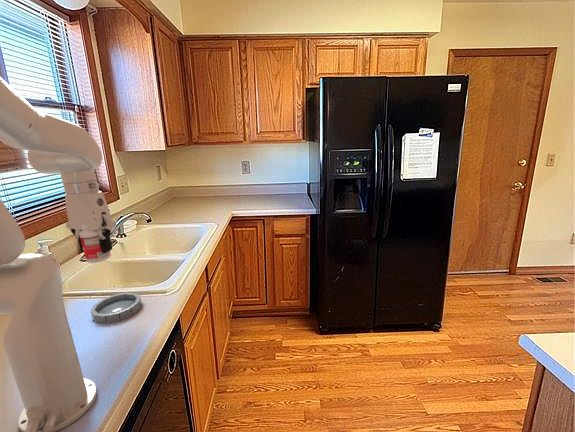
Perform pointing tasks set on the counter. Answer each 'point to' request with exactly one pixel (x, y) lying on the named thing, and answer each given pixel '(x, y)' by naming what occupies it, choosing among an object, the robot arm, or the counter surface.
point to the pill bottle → (92, 246)
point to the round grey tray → (116, 307)
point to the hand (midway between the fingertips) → (96, 250)
